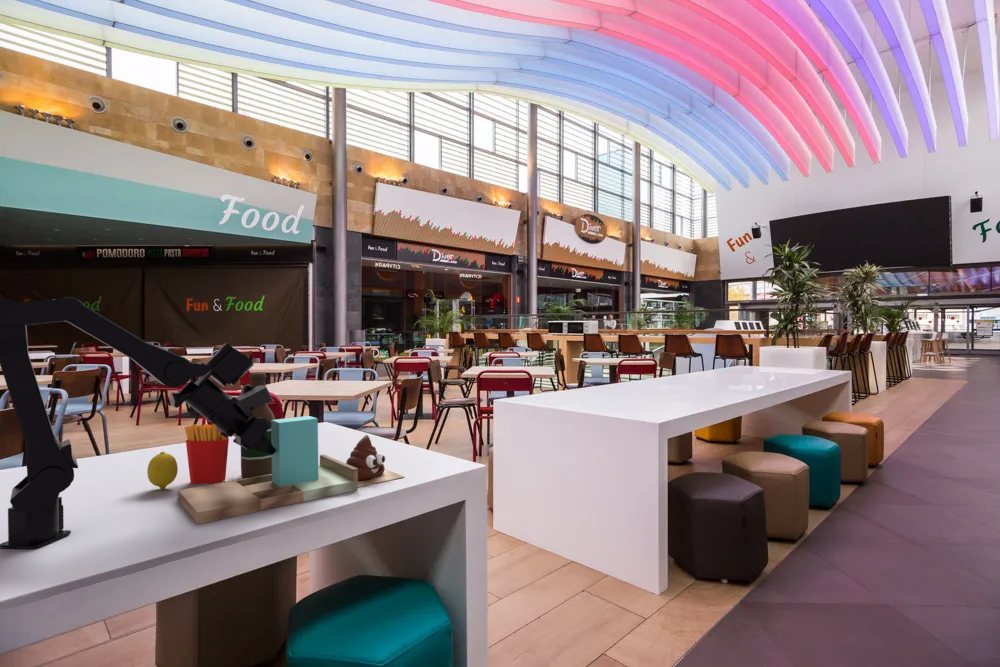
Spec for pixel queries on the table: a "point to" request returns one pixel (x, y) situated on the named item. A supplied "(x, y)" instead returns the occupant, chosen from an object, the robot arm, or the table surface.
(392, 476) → the coaster
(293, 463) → the block
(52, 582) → the table surface
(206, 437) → the french fries
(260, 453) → the beer bottle
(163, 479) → the lemon
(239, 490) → the board
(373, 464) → the poop emoji
